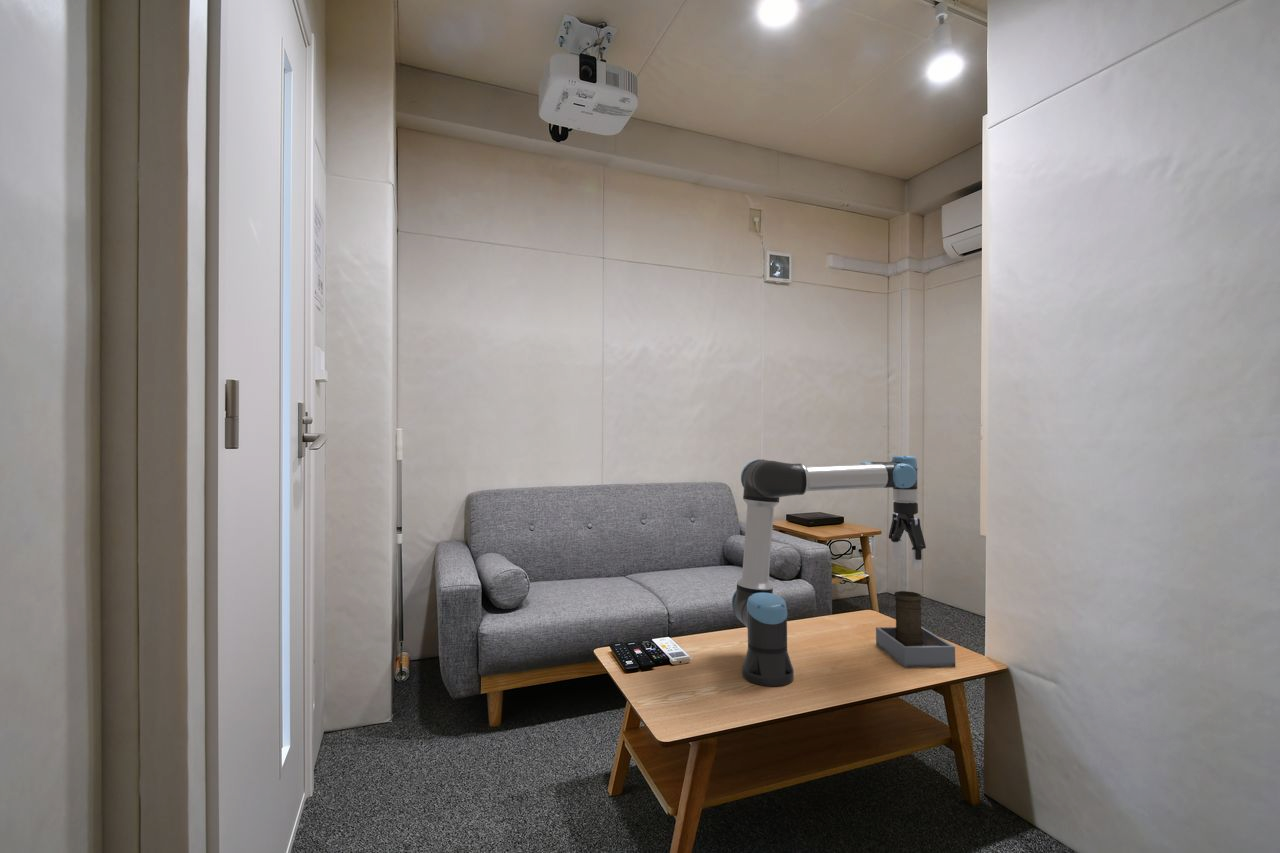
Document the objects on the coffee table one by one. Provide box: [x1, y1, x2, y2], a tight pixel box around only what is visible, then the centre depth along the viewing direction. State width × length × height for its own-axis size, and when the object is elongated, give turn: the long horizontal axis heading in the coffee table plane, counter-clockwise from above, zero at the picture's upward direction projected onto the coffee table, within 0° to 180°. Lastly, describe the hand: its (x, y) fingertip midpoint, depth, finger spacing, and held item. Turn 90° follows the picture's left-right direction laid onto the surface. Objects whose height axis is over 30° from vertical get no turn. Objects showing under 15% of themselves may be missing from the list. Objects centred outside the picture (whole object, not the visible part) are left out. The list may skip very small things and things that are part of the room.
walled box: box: [875, 626, 956, 668], centre depth 189 cm, size 16×20×6 cm
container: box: [893, 590, 923, 646], centre depth 192 cm, size 9×9×18 cm
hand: (906, 565), depth 192 cm, fingers open, 13 cm apart
